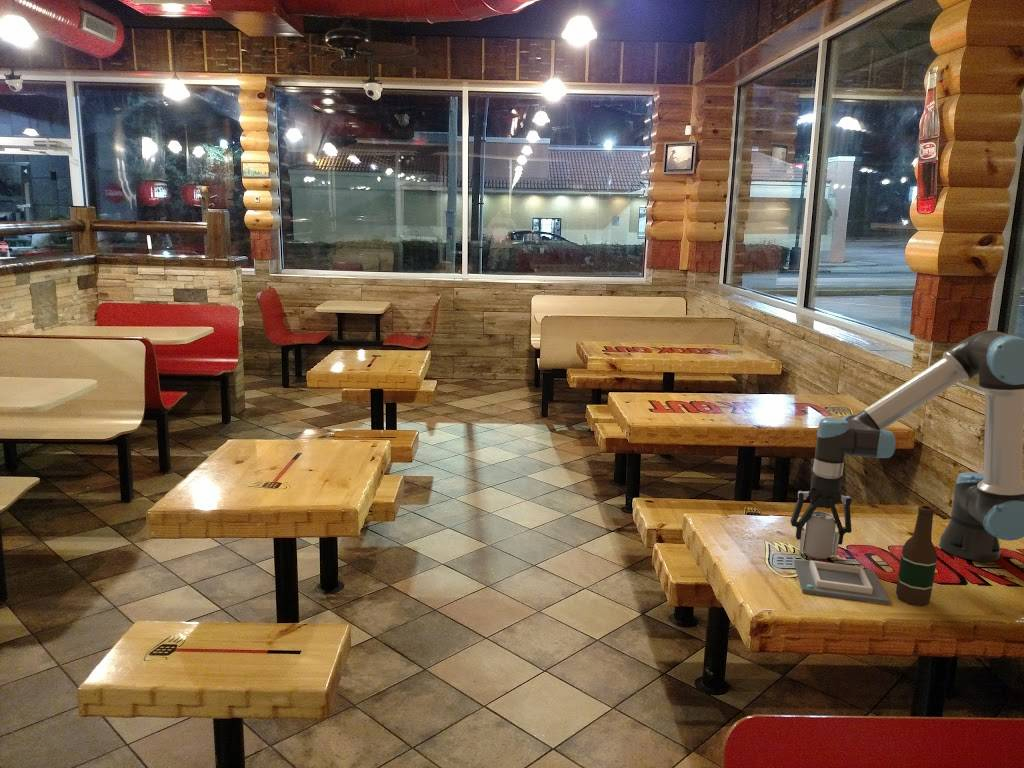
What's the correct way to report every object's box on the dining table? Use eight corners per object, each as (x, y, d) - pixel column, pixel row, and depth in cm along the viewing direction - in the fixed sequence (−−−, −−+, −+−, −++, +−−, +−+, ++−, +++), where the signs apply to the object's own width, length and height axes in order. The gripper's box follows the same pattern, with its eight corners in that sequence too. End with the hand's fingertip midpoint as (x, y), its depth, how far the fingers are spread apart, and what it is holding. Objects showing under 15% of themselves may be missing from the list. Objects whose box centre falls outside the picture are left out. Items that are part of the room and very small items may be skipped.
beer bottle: (888, 592, 195) (902, 501, 190) (917, 592, 196) (932, 501, 191) (906, 606, 188) (921, 513, 183) (936, 606, 188) (952, 513, 184)
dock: (873, 573, 206) (874, 564, 205) (889, 604, 188) (890, 595, 188) (793, 563, 210) (794, 554, 209) (802, 592, 193) (803, 583, 192)
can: (826, 550, 219) (831, 510, 217) (834, 562, 212) (840, 520, 210) (799, 548, 220) (804, 508, 218) (806, 559, 213) (811, 518, 210)
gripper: (865, 474, 213) (855, 552, 217) (785, 466, 217) (776, 542, 222) (871, 483, 206) (860, 563, 210) (788, 474, 210) (778, 552, 215)
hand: (817, 552), depth 216 cm, fingers open, 8 cm apart
